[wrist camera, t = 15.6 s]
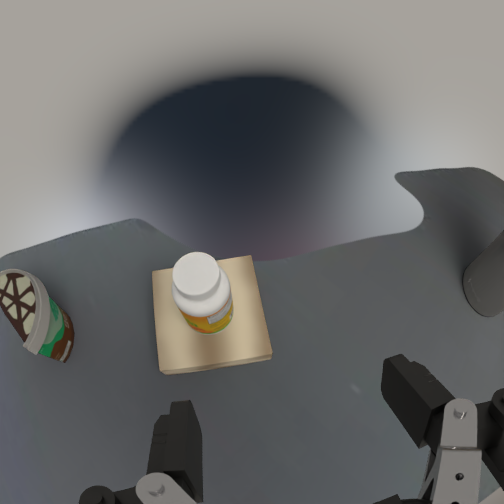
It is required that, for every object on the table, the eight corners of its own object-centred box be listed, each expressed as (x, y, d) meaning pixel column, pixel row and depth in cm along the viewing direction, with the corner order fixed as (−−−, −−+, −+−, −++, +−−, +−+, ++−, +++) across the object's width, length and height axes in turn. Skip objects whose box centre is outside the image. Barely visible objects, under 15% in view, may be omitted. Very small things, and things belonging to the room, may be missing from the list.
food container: (99, 335, 35) (59, 306, 27) (71, 370, 33) (25, 349, 24) (50, 282, 39) (12, 246, 30) (25, 313, 36) (-16, 282, 28)
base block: (251, 266, 40) (250, 255, 38) (271, 359, 34) (272, 353, 32) (158, 282, 39) (152, 271, 37) (166, 375, 33) (159, 370, 31)
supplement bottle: (175, 308, 34) (151, 268, 26) (214, 281, 36) (202, 233, 28) (204, 345, 32) (187, 316, 24) (244, 315, 34) (241, 276, 25)
